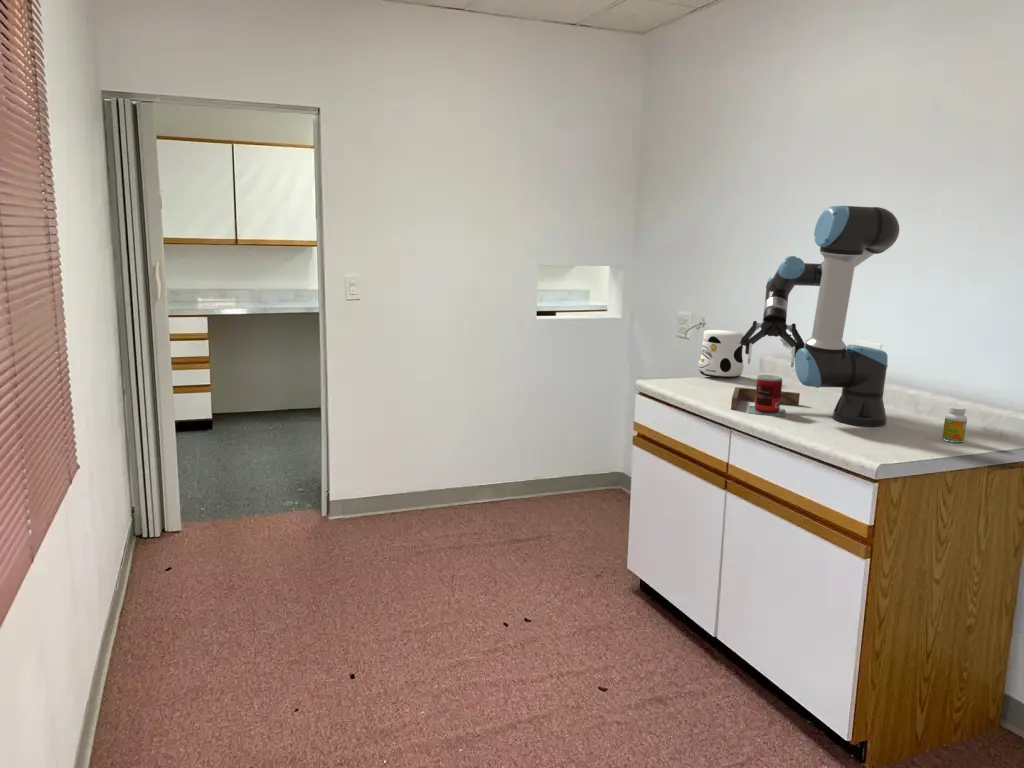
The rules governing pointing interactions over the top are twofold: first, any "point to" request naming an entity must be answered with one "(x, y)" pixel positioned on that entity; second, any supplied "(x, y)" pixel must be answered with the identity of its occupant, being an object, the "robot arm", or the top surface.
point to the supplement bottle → (955, 424)
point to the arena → (750, 395)
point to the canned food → (768, 393)
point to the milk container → (721, 354)
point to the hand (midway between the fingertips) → (770, 363)
